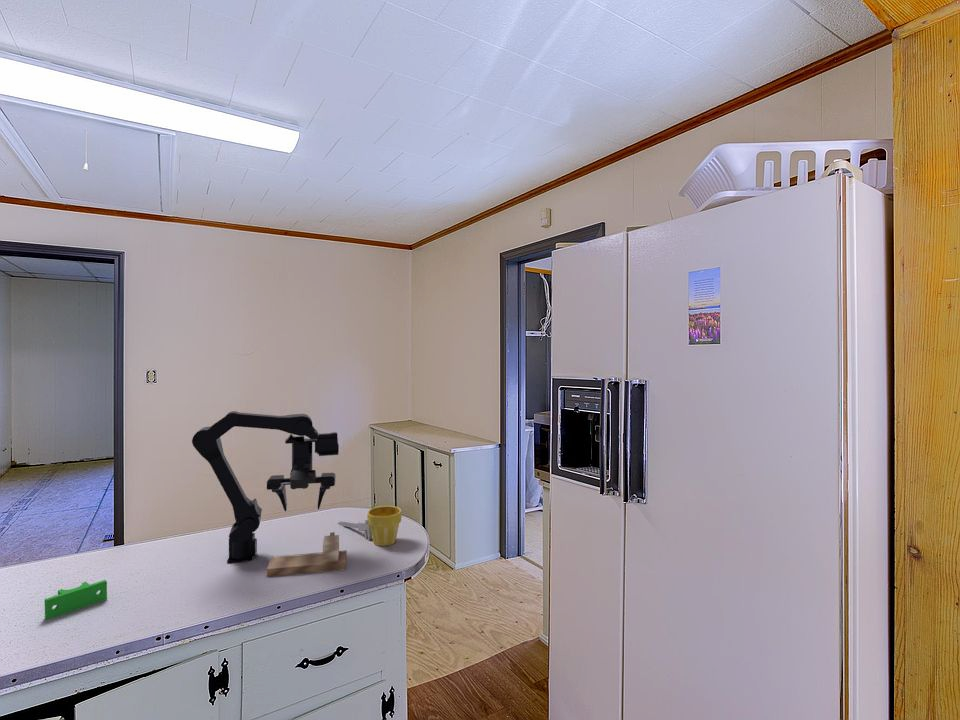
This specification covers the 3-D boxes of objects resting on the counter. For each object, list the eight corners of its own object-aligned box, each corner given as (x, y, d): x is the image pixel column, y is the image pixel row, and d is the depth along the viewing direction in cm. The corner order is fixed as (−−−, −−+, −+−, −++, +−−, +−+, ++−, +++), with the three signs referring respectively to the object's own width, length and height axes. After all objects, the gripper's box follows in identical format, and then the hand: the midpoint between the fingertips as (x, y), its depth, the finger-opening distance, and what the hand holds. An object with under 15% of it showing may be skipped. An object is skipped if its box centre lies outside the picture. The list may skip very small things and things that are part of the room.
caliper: (372, 540, 155) (372, 520, 155) (369, 541, 154) (369, 521, 154) (340, 523, 170) (340, 505, 170) (337, 524, 169) (337, 506, 169)
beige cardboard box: (322, 562, 134) (322, 544, 134) (325, 549, 143) (325, 532, 143) (338, 561, 135) (338, 543, 135) (339, 548, 144) (339, 531, 143)
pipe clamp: (101, 595, 120) (101, 576, 120) (107, 600, 118) (107, 580, 118) (40, 615, 111) (40, 595, 111) (46, 620, 109) (46, 600, 108)
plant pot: (370, 551, 147) (370, 518, 146) (364, 538, 156) (364, 507, 156) (404, 546, 151) (404, 514, 150) (397, 534, 160) (397, 504, 160)
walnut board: (266, 576, 130) (266, 568, 130) (272, 563, 138) (272, 556, 138) (345, 569, 134) (345, 561, 134) (346, 557, 142) (346, 550, 142)
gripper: (262, 465, 136) (263, 521, 137) (333, 462, 141) (333, 516, 141) (270, 456, 147) (270, 508, 148) (335, 453, 151) (335, 504, 152)
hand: (302, 509), depth 147 cm, fingers open, 9 cm apart
